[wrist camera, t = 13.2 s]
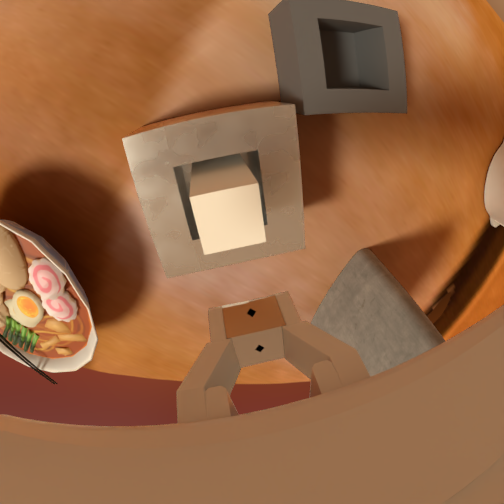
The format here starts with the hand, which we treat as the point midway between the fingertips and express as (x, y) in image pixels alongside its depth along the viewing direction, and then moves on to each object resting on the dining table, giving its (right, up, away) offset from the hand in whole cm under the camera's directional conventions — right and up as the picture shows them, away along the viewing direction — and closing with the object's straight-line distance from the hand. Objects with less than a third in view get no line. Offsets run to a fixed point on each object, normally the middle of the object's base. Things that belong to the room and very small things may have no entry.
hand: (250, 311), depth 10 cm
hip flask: (+12, -4, +28) cm, 30 cm away
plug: (-3, +9, +15) cm, 18 cm away
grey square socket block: (+7, +21, +11) cm, 24 cm away
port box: (-3, +10, +15) cm, 19 cm away
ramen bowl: (-28, 0, +17) cm, 33 cm away
